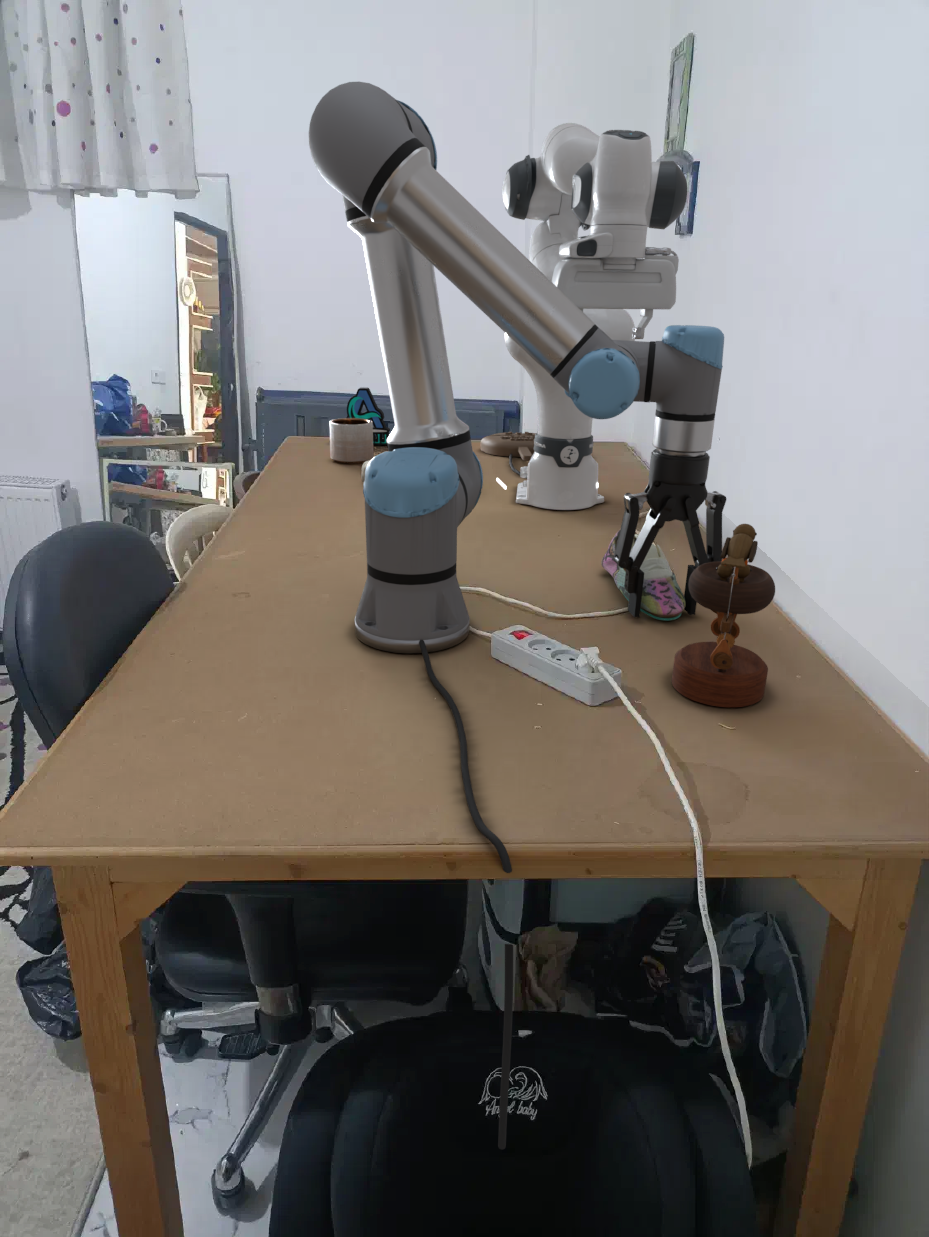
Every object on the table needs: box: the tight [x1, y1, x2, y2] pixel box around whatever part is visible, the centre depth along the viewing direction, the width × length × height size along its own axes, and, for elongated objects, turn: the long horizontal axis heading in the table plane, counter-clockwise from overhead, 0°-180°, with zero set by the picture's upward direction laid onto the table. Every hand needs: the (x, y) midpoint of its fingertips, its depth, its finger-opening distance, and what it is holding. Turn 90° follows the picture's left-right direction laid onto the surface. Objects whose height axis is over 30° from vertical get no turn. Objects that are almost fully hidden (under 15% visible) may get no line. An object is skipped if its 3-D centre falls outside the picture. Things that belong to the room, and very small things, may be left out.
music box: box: [671, 523, 776, 708], centre depth 96 cm, size 15×11×20 cm
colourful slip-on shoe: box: [600, 529, 686, 622], centre depth 126 cm, size 8×24×9 cm, turn 7°
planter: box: [328, 417, 375, 464], centre depth 212 cm, size 11×11×10 cm
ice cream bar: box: [479, 431, 537, 462], centre depth 222 cm, size 21×28×4 cm
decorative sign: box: [329, 386, 391, 446], centre depth 231 cm, size 19×2×15 cm, turn 86°
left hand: (661, 612), depth 119 cm, fingers closed on colourful slip-on shoe, 7 cm apart
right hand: (610, 339), depth 138 cm, fingers open, 8 cm apart
